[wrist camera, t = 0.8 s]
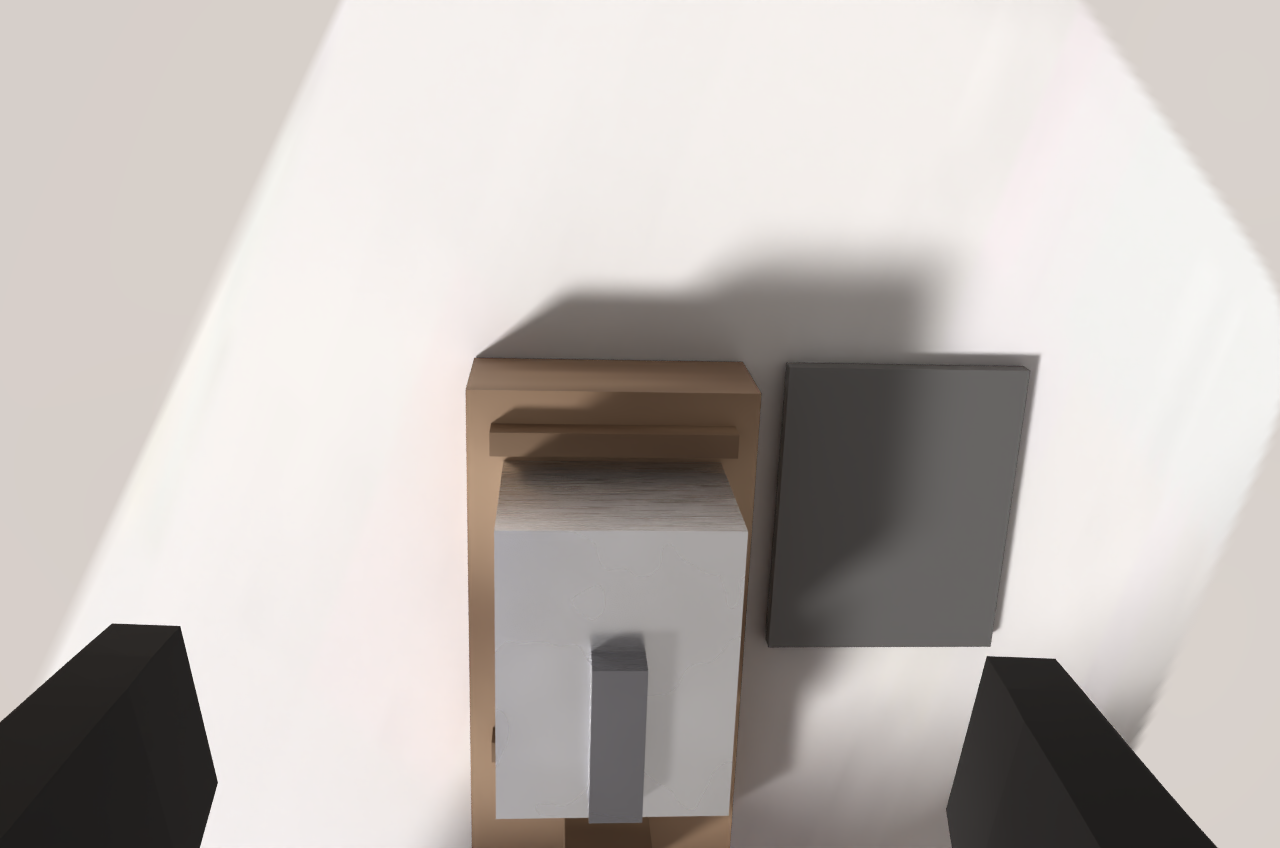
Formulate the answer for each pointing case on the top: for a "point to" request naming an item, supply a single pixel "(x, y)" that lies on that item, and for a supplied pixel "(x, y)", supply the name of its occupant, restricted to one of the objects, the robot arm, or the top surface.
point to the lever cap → (616, 639)
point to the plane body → (591, 431)
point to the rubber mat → (893, 503)
